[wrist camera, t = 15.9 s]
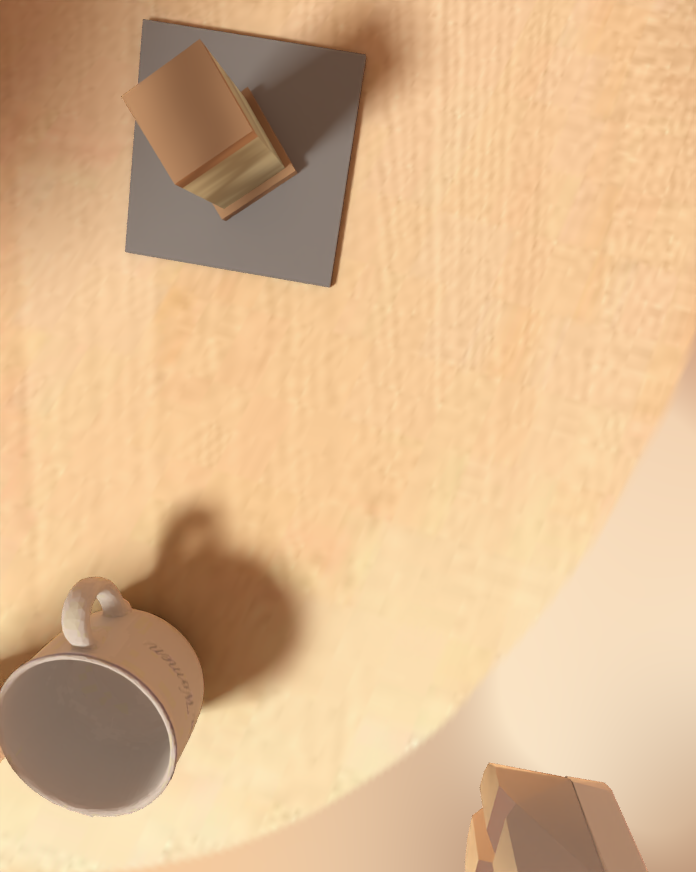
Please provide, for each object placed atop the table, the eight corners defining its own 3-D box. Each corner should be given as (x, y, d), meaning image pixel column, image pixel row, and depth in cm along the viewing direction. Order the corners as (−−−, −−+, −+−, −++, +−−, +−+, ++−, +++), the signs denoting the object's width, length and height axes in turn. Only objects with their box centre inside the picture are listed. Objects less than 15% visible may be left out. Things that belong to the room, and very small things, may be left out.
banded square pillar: (225, 221, 34) (172, 198, 26) (178, 142, 34) (108, 93, 25) (297, 173, 33) (265, 133, 25) (251, 91, 33) (202, 23, 24)
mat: (128, 252, 36) (125, 252, 35) (145, 22, 33) (143, 19, 32) (330, 287, 35) (329, 287, 35) (366, 57, 32) (365, 54, 32)
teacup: (205, 741, 43) (164, 840, 35) (56, 708, 43) (-18, 799, 35) (234, 562, 40) (195, 628, 32) (72, 528, 40) (-5, 585, 32)
